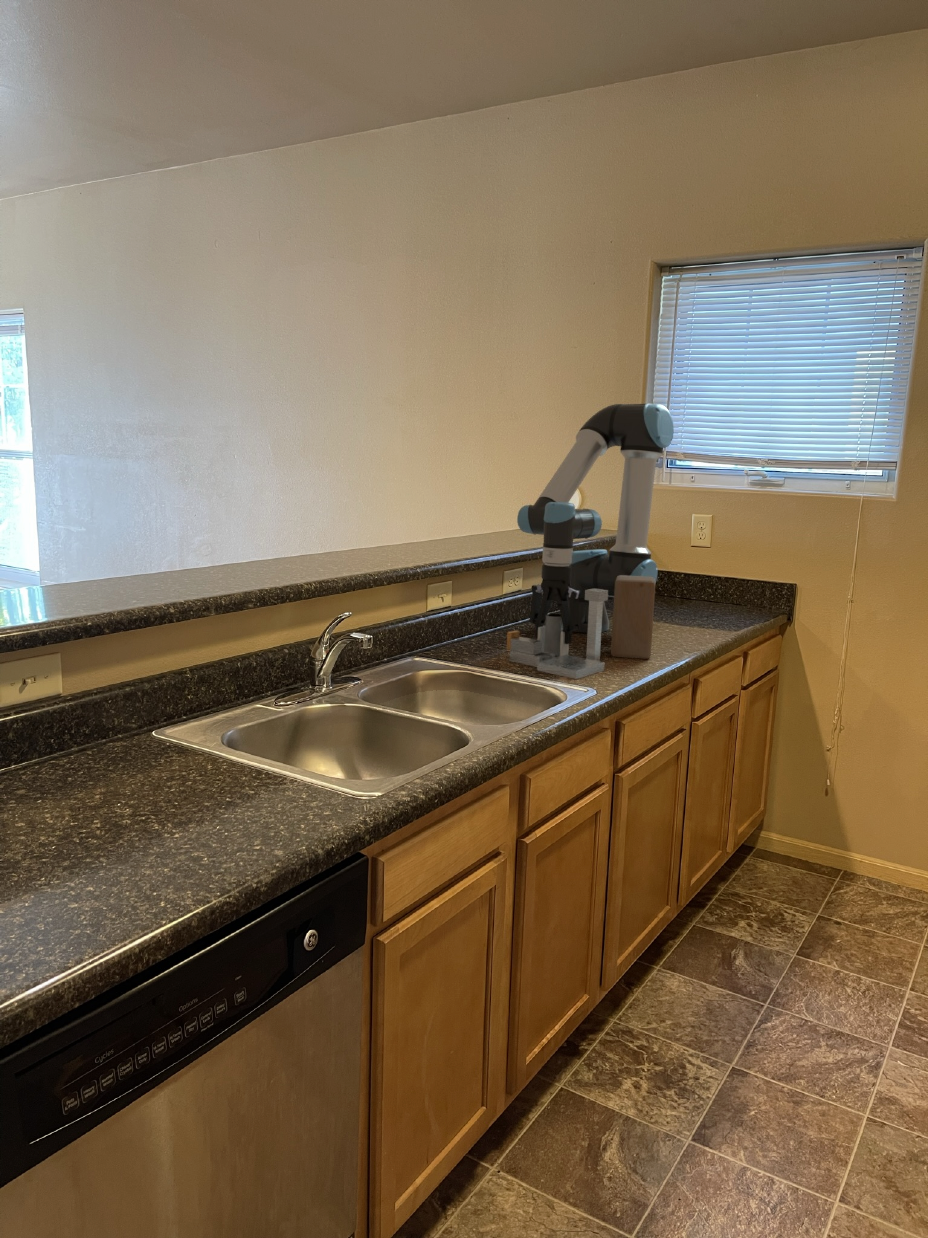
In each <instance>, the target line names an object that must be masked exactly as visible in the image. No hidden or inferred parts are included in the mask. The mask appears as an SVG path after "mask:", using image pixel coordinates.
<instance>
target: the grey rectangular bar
mask: <svg viewBox="0 0 928 1238" xmlns="http://www.w3.org/2000/svg"><path fill="white" fill-rule="evenodd" d="M506 636H507V637H506V650H507V651H516V652H521V653H526V654H530V655H536V654H540V653H541V652H542V641H539V640H538V639H532V638H528V637H522V636H520V630H512V631H507V634H506Z"/></svg>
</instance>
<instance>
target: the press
mask: <svg viewBox="0 0 928 1238" xmlns="http://www.w3.org/2000/svg"><path fill="white" fill-rule="evenodd" d="M585 600H589V615H588V633H586V635H587V636H586V638H587V639H586V641H587V642H586V656H585V657H586V658H585V657H582V656H581V657H579V656H576V655H571V654H570V655H569V654H568V655H563V656H555V654H554V653H549V652H544V651H542V652H541V653H540V654H536V655H530V654H526V653H521V652H516V651H511V650H509V661H510V662H513V663H517V664H521V665H526V666H530V667H534V668H537V672H543V673H547V674H552V675H556V676H560V677H565V678H568V679H569V678H570V679H575V680H578V679H581V678H584V677H587V676H590V675H593V674H597V673H601V672H603V671H605V661H602V660H601V658H600V657H601V646H602V645H601V641H602V632H601V628H602V611H603V601H604V602H606V601H608V600H609V596H608V590H602V589H595V588H594V589H588V590H585Z"/></svg>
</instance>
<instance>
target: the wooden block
mask: <svg viewBox="0 0 928 1238" xmlns="http://www.w3.org/2000/svg"><path fill="white" fill-rule="evenodd" d="M655 596H656V583H655V578H653V577H645V576H627V575H619V576H617V578H616V581H615V590H614V597H613V609H612V610H613V611H612V626H611V627H612V628H611V641H610V642H611V645H610V654H611V656H612V657H614V658H624V659H625V658H627V659H640V660H648V659H650V658H651V655H652V654H651V653H652V641H653V629H654V628H653V627H654V625H653V624H654V612H655V611H654V610H655V599H656V598H655Z"/></svg>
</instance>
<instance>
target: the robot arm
mask: <svg viewBox="0 0 928 1238" xmlns="http://www.w3.org/2000/svg"><path fill="white" fill-rule="evenodd" d="M674 428H675V427H674V422H673V417H672V415H671V412H670V411H669V410H668V408H667V407H666V406H664V405H663V404H659V403H656V404H655V403H626V404H625V403H624V404H623V403H615V404H611V405H608V406H605V407H604V408H602V409H600V410H598V411H597V412H596V413H594V414H593V415H592V416H591V417H590V418H588V420H587V421H586V422H584V424H583V425H582V426H581V427H580V429H579V431H578V432H577V434H576V436H575V443H574V444H573V446H572V447H571V449H570V450H569V452H568V453H567V454H566V456H565V458H564V459H563V461H562V462H561V464H560V465H559V467H558V468H557V470H556V471H555V472H554V474H553V475H552V477H551V479H550V480H549V481H548V483H547V484H546V485H545V487H544V489H543V490H542V492H541V493H540V495H539V496H538V498H537V500H536V501H535V502H534V504H526V505H523V506H521V508H520V509H519V510H518V513H517V516H516V517H517V519H516V520H517V521H516V522H517V526H518V528H519V530H520V531H521V532H523V533H527V534H531V535H534V536H535V535H540V536H543V543H542V559H541V560H542V562H543V564H542V565H541V579H542V580H541V584H533V585H531V587H530V588H531V593H532V596H531V603H530V604H531V605H530V613H529V622H530V623H531V624H533V625H534V626H535V638H536V639H537V640H539V641H542V651H544V645H545V622H546V614H549V612H550V608H551V605H552V603H553V602H556V605H557V606H558V609H559V614H560V615H561V619H562V624H563V630H562V631H561V641H560V656H563V655H569V647H570V644H571V643H572V639H573V638H572V637H573V636H572V635H573V632H574V633H585V634H588V615H589V600H585V590H588V589H594V588H595V589H602V590H608V597H610V598H611V597H612V598H614V590H615V581H616V578H617V576H619V575H627V576H645V577H653V578H655V584H656V583H657V580H658V565H657V563H656V562H655V560H653V559H652V558H651V557H652V552H651V550H650V549H648V546H647V545H648V539H649V538H648V537H649V527H650V519H651V510H652V502H653V501H652V500H653V492H654V484H655V483H654V482H655V475H656V466H657V460H659V459H660V458H661V457H662V456H663V455H664V454H663V451H664V449H666V448H668V447H669V446H670V445H671V444H672V441H673V438H674ZM613 447H620V454H621V455H622V457H623V458H624V464H623V473H622V480H621V481H622V483H621V492H620V501H619V509H618V510H619V511H618V520H617V527H616V539H615V544H614V545H613V546H612V547H611V548H609V552H608V550H607V549H602V548H601V549H584V550H573V549H574V540H578V539H580V540H581V539H585V540H587V539H589V538H593V537H595V536H597V535H598V534H599V533H600V532H601V529H602V525H603V524H602V522H603V521H602V518H601V515H600V514H599V513H598V511H596V509H591V508H590V509H589V508H580V509H579V508H576V506H575V504H574V503H572V502H571V500H572V497H574V495H575V494H576V492H577V490H578V488H579V487H580V485H582V483H583V481H584V480H585V478H586V477H587V475H588V473H589V471H590V470H591V469H592V467H593V466H594V465H595V462H596V461H597V459H599V457H601V456H603V455H605V454H606V453H607V451H608V449H610V448H613ZM608 553H609V554H608ZM542 592H543V595H542ZM609 629H610V619H609V616H608V613H607V609H606V605H605V601H603V611H602V628H601V633H604V632H607V631H609Z"/></svg>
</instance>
